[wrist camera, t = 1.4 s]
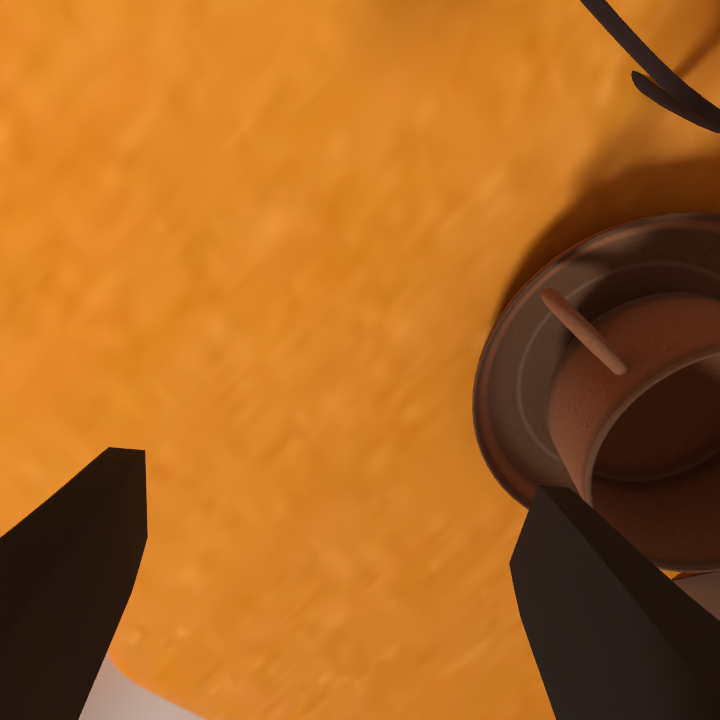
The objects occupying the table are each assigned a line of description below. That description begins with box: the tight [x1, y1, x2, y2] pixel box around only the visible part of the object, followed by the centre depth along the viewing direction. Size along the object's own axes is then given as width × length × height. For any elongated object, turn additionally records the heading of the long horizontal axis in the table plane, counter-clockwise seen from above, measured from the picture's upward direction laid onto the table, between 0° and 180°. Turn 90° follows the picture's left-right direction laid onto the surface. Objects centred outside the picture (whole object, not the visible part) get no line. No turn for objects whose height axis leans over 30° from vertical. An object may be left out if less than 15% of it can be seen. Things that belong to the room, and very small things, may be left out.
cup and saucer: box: [472, 212, 720, 573], centre depth 18 cm, size 12×12×6 cm
